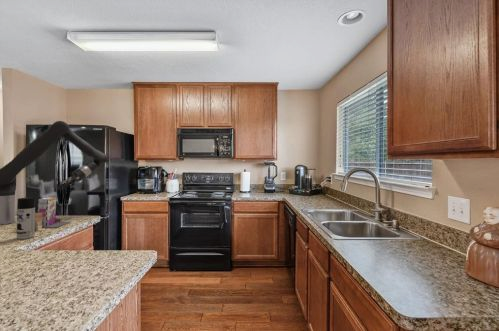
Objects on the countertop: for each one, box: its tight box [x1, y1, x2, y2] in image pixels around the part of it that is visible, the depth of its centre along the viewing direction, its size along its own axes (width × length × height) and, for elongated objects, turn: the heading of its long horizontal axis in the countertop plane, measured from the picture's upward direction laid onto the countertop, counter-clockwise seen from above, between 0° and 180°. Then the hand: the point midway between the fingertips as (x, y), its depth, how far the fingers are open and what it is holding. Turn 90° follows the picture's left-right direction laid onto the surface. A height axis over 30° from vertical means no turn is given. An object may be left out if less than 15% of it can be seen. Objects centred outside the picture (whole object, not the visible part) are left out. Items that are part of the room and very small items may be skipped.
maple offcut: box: [35, 221, 43, 230], centre depth 139 cm, size 4×4×4 cm
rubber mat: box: [44, 221, 71, 229], centre depth 149 cm, size 6×13×1 cm, turn 8°
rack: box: [35, 217, 63, 233], centre depth 145 cm, size 9×22×4 cm, turn 8°
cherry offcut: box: [35, 212, 42, 223], centre depth 139 cm, size 4×4×4 cm
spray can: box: [16, 196, 36, 240], centre depth 124 cm, size 7×7×20 cm
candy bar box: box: [37, 196, 57, 228], centre depth 148 cm, size 11×5×16 cm, turn 17°
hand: (60, 188), depth 158 cm, fingers open, 8 cm apart
